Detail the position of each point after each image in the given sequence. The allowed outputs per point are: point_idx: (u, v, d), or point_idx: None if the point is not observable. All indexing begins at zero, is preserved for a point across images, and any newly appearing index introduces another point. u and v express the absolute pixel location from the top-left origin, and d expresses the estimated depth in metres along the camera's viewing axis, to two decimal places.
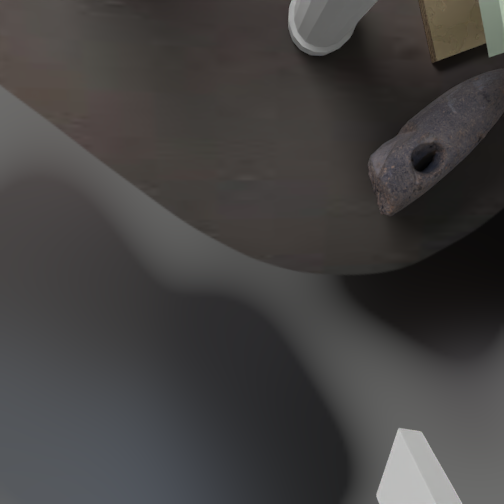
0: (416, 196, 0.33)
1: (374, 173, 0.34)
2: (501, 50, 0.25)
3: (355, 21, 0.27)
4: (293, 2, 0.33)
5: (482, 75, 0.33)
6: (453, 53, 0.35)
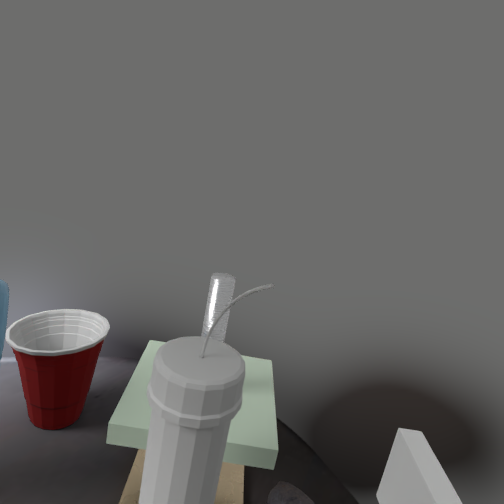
0: None
1: None
2: (275, 455, 0.34)
3: None
4: None
5: None
6: None
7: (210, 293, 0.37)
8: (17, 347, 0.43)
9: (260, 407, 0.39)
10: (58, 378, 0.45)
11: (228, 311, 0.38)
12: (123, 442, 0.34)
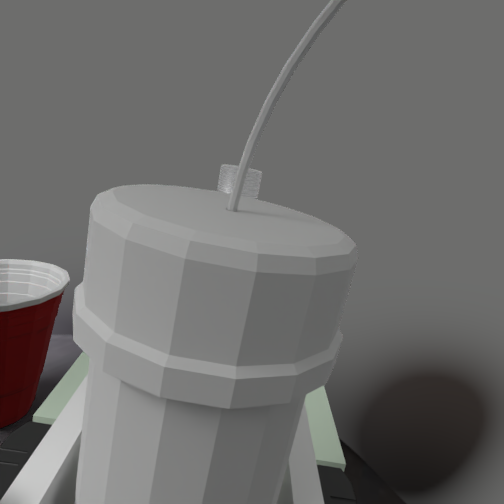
0: None
1: None
2: None
3: None
4: None
5: None
6: None
7: None
8: None
9: None
10: None
11: None
12: None
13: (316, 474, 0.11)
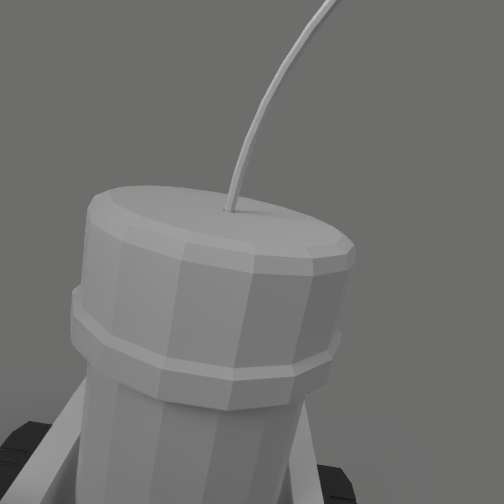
0: None
1: None
2: None
3: None
4: None
5: None
6: None
7: None
8: None
9: None
10: None
11: None
12: None
13: (316, 474, 0.11)
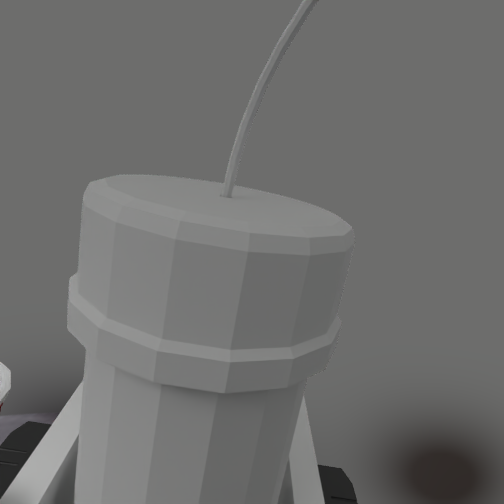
0: None
1: None
2: None
3: None
4: None
5: None
6: None
7: None
8: None
9: None
10: None
11: None
12: None
13: (316, 474, 0.11)
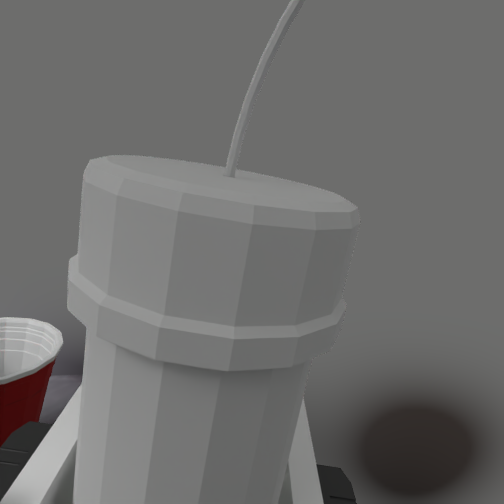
0: None
1: None
2: None
3: None
4: None
5: None
6: None
7: None
8: None
9: None
10: None
11: None
12: None
13: (315, 474, 0.11)
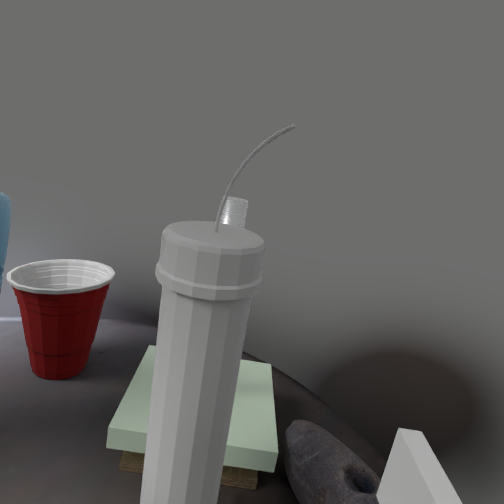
0: None
1: None
2: (275, 458, 0.34)
3: None
4: None
5: (287, 441, 0.38)
6: None
7: (222, 216, 0.35)
8: (19, 286, 0.41)
9: (260, 410, 0.39)
10: (62, 321, 0.43)
11: None
12: (123, 446, 0.34)
13: None
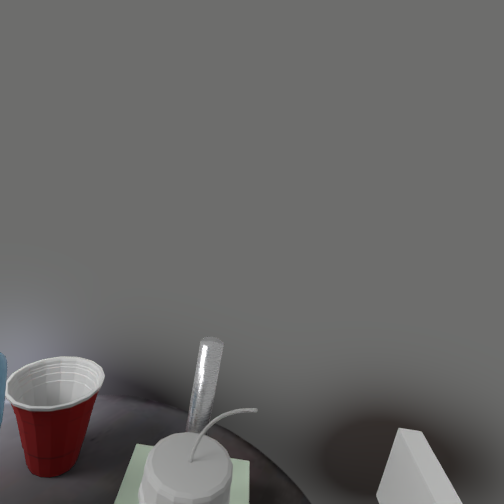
0: None
1: None
2: None
3: None
4: None
5: None
6: None
7: (200, 359, 0.39)
8: (15, 403, 0.45)
9: None
10: (54, 430, 0.47)
11: (217, 374, 0.40)
12: None
13: None
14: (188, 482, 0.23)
